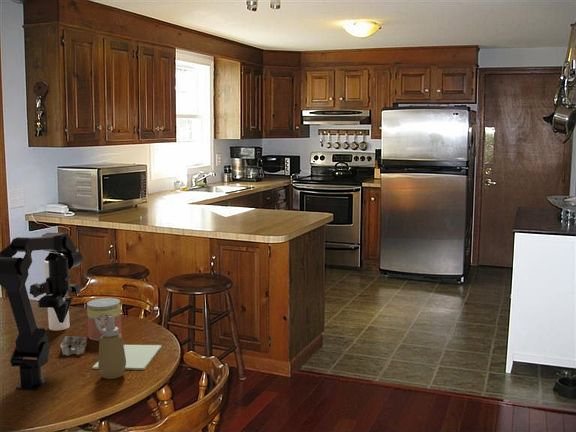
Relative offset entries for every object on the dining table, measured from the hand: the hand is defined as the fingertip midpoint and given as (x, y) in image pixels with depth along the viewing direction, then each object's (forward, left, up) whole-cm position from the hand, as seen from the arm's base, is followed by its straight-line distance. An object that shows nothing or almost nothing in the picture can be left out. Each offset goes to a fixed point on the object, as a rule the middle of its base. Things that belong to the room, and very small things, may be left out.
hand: (61, 322), depth 202 cm
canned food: (+26, -4, -13) cm, 29 cm away
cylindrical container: (+33, +16, -13) cm, 39 cm away
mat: (+4, -19, -13) cm, 24 cm away
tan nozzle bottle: (-11, -19, -13) cm, 25 cm away
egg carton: (+11, +1, -13) cm, 17 cm away
